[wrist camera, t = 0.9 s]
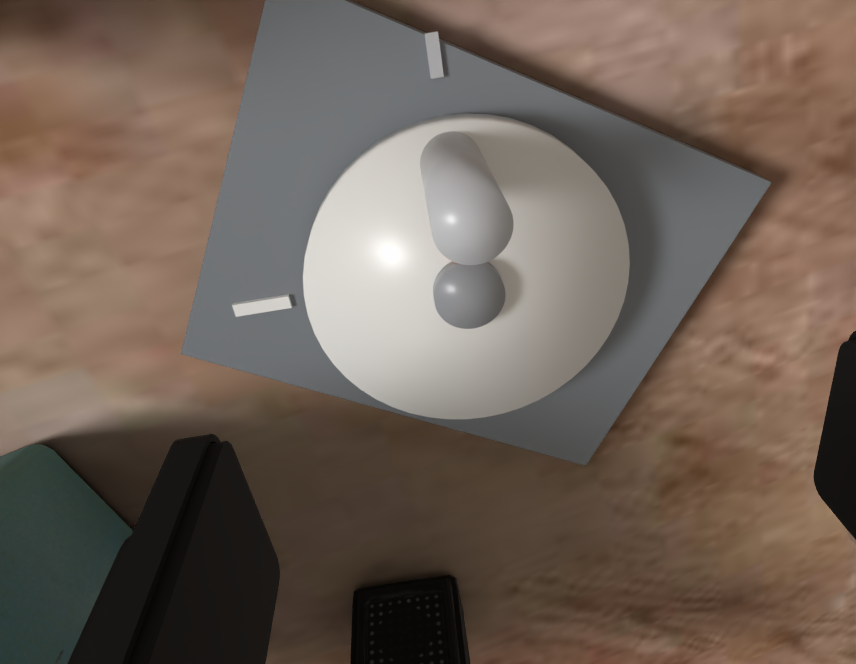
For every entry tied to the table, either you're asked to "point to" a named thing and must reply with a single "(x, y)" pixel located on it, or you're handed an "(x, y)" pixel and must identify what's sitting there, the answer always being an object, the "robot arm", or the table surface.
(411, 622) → the portable radio
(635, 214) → the stand
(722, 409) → the table surface
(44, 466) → the flower pot
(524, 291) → the white round dome
